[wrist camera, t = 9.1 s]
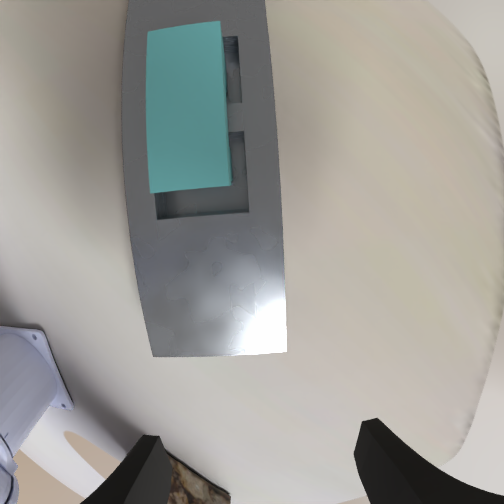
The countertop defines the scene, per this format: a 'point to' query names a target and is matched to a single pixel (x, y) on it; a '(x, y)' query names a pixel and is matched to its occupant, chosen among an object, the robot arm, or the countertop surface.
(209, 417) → the countertop surface
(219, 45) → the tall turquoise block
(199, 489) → the stone block
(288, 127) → the countertop surface
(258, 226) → the rail
